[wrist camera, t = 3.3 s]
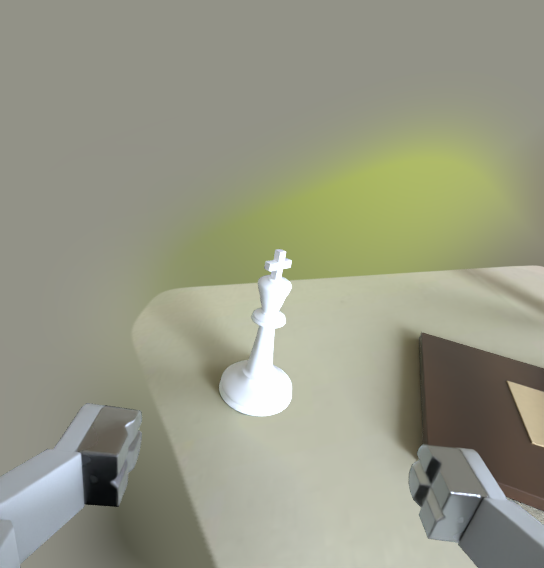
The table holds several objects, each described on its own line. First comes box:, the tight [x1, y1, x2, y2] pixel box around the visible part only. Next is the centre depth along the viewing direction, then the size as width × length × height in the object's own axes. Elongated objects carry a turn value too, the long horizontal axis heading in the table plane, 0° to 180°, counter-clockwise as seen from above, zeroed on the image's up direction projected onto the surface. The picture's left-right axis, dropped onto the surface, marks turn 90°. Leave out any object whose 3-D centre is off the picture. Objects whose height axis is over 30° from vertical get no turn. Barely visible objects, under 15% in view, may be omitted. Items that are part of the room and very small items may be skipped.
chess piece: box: [219, 249, 292, 416], centre depth 23 cm, size 5×5×10 cm
